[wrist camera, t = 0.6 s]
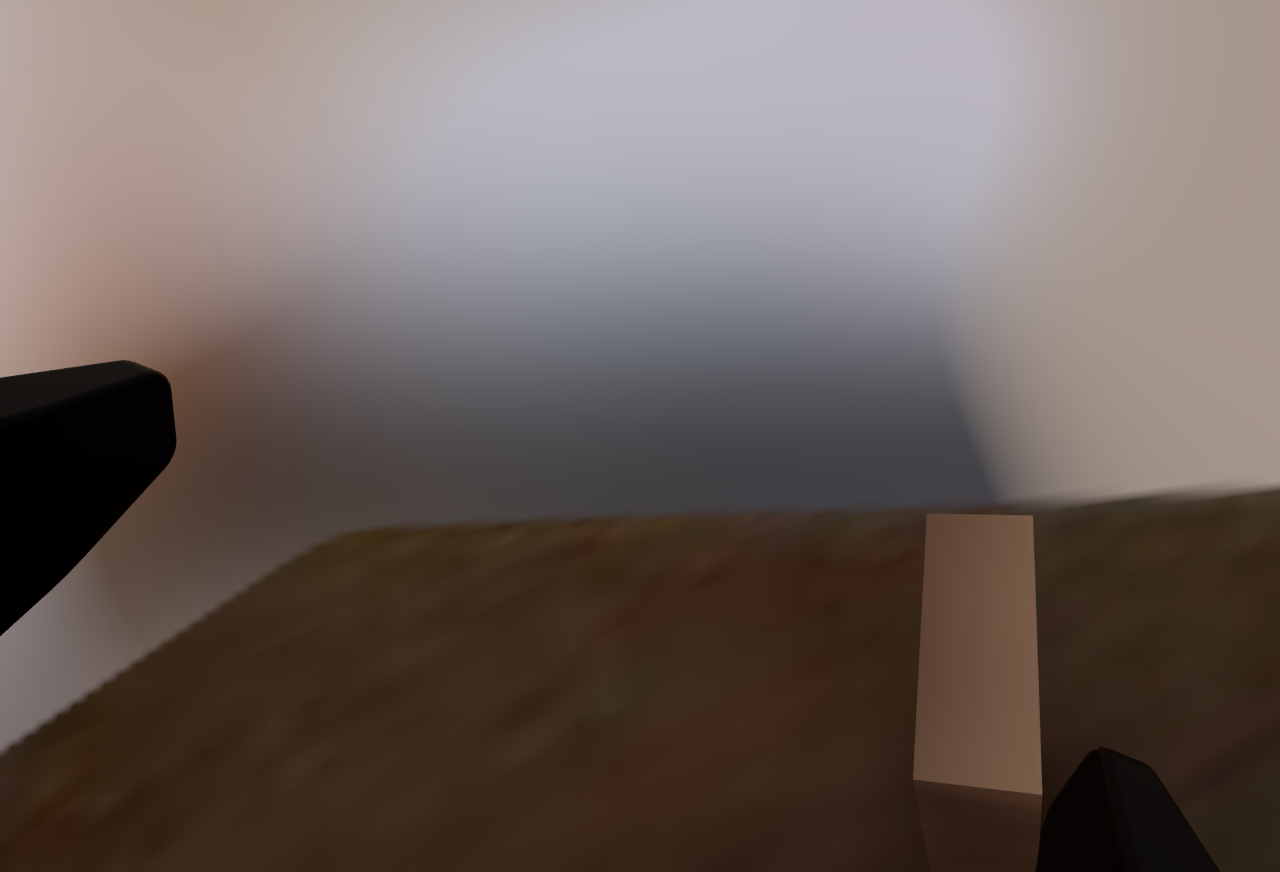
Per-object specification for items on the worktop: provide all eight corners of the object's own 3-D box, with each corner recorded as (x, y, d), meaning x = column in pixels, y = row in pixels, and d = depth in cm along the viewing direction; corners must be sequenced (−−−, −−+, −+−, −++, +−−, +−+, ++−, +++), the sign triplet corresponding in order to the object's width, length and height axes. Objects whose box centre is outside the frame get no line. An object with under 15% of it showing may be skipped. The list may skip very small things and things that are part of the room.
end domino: (1026, 752, 24) (1032, 516, 17) (1031, 971, 21) (1042, 794, 14) (951, 744, 24) (927, 513, 17) (945, 955, 21) (913, 779, 14)
